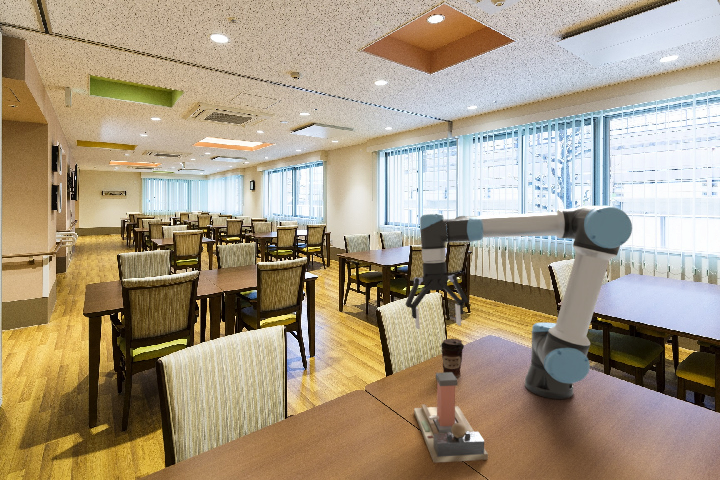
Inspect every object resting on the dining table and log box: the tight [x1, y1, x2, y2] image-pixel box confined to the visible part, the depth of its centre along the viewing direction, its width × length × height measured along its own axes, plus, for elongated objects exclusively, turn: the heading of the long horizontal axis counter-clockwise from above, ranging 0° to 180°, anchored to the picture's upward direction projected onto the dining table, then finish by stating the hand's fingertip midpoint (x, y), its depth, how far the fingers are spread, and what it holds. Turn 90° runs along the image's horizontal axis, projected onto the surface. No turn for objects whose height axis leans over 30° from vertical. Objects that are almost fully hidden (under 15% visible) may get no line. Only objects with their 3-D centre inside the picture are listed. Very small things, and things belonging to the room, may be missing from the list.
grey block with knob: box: [433, 431, 485, 457], centre depth 98 cm, size 12×4×5 cm, turn 94°
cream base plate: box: [413, 403, 489, 463], centre depth 107 cm, size 14×23×3 cm, turn 4°
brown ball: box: [451, 423, 466, 438], centre depth 97 cm, size 4×4×4 cm
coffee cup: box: [440, 338, 465, 378], centre depth 144 cm, size 9×8×13 cm
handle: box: [429, 372, 458, 433], centre depth 108 cm, size 8×7×15 cm
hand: (438, 326), depth 124 cm, fingers open, 13 cm apart
